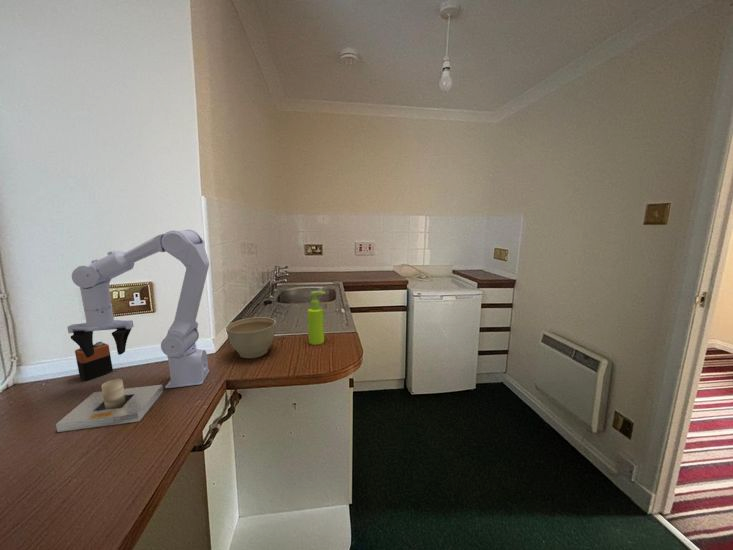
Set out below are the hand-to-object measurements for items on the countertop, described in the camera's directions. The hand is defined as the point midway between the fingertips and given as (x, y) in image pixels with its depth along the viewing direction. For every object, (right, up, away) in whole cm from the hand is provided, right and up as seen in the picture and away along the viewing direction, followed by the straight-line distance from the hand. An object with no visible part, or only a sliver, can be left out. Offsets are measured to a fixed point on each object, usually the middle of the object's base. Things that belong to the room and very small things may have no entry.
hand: (106, 354), depth 84 cm
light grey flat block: (+11, -11, -10) cm, 18 cm away
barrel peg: (+11, -11, -9) cm, 18 cm away
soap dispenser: (+55, -4, +32) cm, 63 cm away
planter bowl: (+33, -6, +22) cm, 40 cm away
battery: (-10, -9, +8) cm, 15 cm away
